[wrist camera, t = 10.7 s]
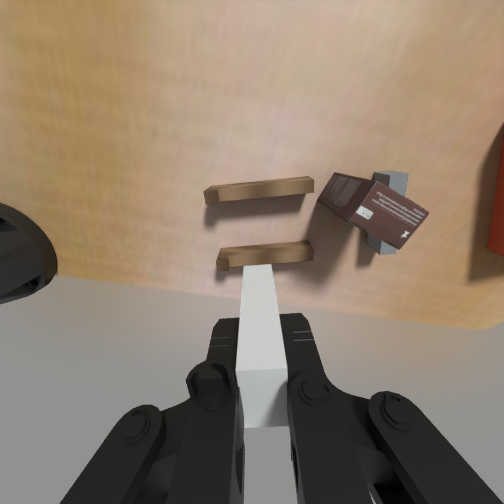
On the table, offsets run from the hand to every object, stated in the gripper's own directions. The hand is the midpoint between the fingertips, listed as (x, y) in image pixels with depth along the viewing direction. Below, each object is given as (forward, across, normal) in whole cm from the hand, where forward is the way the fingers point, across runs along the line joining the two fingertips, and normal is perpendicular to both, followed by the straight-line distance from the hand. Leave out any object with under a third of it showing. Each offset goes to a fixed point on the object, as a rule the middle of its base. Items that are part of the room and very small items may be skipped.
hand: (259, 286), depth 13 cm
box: (+21, +12, 0) cm, 24 cm away
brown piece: (+21, +1, -2) cm, 21 cm away
